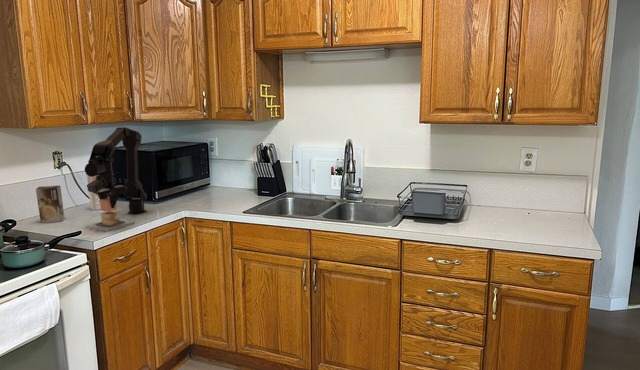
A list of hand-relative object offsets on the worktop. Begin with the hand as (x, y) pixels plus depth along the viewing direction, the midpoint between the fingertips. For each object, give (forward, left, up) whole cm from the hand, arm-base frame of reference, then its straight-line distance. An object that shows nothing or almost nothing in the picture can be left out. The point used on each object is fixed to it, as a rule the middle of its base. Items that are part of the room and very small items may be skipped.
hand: (109, 207), depth 210 cm
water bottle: (-19, -33, -8) cm, 40 cm away
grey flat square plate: (0, 0, -8) cm, 8 cm away
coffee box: (+6, -32, -8) cm, 34 cm away
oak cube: (0, 0, -8) cm, 8 cm away
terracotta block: (0, 0, -1) cm, 1 cm away
